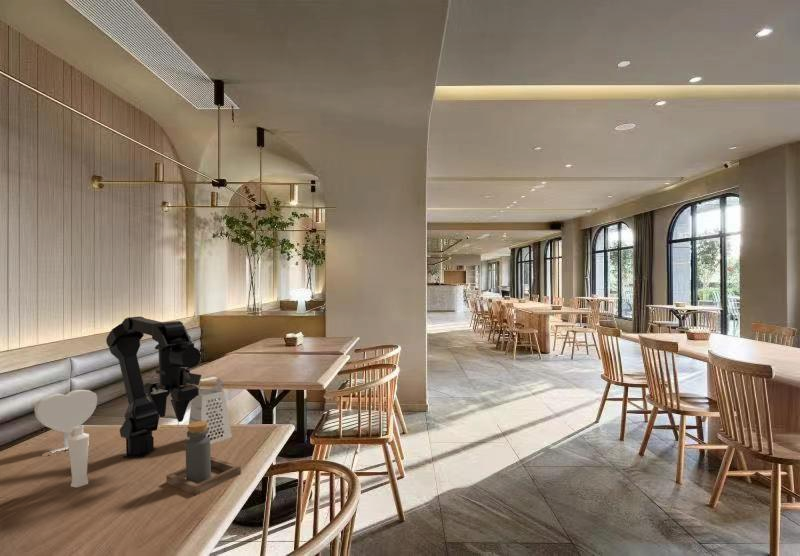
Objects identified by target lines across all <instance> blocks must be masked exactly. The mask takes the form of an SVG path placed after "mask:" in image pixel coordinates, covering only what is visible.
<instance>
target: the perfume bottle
mask: <svg viewBox="0 0 800 556" xmlns="http://www.w3.org/2000/svg"><path fill="white" fill-rule="evenodd" d="M84 427H85V425H83V424H82V425H80V426H77V427H74V435H72V437H71V438H69V439H68V446H69V451H68V453H69V455H68V456H69V463H70V472H71V483H70V487H71V488H72V487H73V488H75V489H77V488H81V487H83V486H86V485H88V484H89V478H88V462H89V458H88V457H89V446H90V445H89V441H90V434H89V433H85V432H84Z"/></svg>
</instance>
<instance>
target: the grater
mask: <svg viewBox="0 0 800 556" xmlns="http://www.w3.org/2000/svg"><path fill="white" fill-rule="evenodd" d="M210 380H216V387H211V388H207V389H201V390H200V387H201V386H200V385H201V384H202V382H205V381H210ZM194 386H197V387H198V388H199V395H198V396H196V397H195V398H194V399H192V400H191V401H190V403H191V404H190V409H189V410H190V412H189V418H188V425H189V424H190V423H193V422H197V421H206V422H207V428H208V430H209V432H208V434H206V436H207V437H208V436H209V438H210V445H212V444H215V443H218V442H221V441H224V439H225V440H227V439H231V438H232V437H233V434H232V430H231V429H232V428H231V424H230V418H229V411H228V406H227V400H226V398H227V397H226V394H225V390H223V387H222V386H223V385H222V379H220V377H217V376H210V377H206V378H201V379H200V382H199V385H195V384H194ZM188 431H189V429H188V428H187V432H188ZM210 432H211V433H210ZM219 432H220V433H219ZM222 432H223V433H222ZM212 434H213V435H212ZM221 435H222V436H221ZM218 436H219V437H218ZM214 437H215V438H214ZM189 439H190V437H187V436H186V441H188V440H189Z"/></svg>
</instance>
